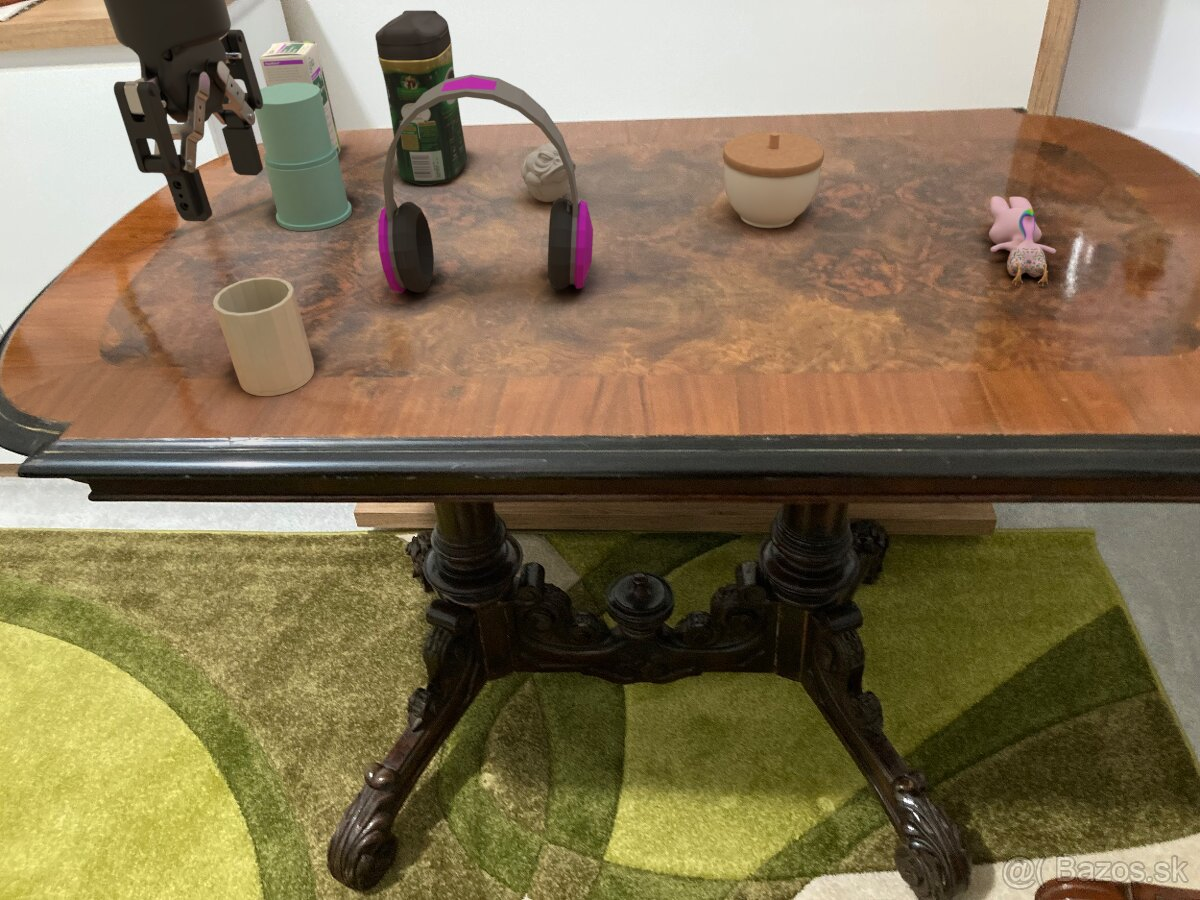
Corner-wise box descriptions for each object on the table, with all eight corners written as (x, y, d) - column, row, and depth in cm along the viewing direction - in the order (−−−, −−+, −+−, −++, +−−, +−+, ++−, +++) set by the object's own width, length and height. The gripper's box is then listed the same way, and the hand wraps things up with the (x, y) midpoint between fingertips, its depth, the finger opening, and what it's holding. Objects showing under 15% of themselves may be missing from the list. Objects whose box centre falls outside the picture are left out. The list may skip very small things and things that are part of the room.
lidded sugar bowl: (702, 208, 106) (706, 126, 100) (783, 190, 109) (790, 110, 103) (750, 245, 98) (757, 159, 92) (835, 225, 101) (846, 141, 95)
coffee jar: (415, 157, 121) (390, 4, 109) (473, 158, 120) (455, 4, 108) (391, 186, 113) (362, 26, 102) (453, 188, 112) (431, 26, 101)
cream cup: (268, 405, 78) (242, 323, 73) (225, 379, 81) (197, 299, 76) (329, 371, 81) (308, 291, 76) (285, 348, 85) (263, 269, 80)
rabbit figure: (1058, 298, 90) (1029, 211, 100) (1078, 248, 86) (1046, 162, 95) (992, 296, 91) (969, 210, 101) (1008, 246, 86) (984, 161, 96)
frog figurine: (548, 217, 105) (544, 158, 101) (511, 199, 109) (506, 141, 105) (588, 202, 108) (586, 143, 104) (552, 185, 112) (548, 128, 108)
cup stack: (307, 238, 103) (275, 111, 94) (262, 218, 107) (228, 96, 98) (367, 211, 108) (342, 89, 99) (321, 194, 112) (294, 75, 103)
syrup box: (333, 171, 118) (307, 52, 109) (287, 173, 118) (257, 54, 109) (342, 155, 122) (318, 39, 113) (298, 156, 122) (270, 41, 113)
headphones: (381, 310, 90) (339, 101, 77) (397, 268, 96) (361, 70, 84) (594, 305, 89) (586, 94, 77) (595, 263, 96) (588, 63, 83)
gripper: (158, -59, 67) (223, 159, 77) (35, -13, 56) (129, 234, 66) (254, -60, 66) (307, 161, 76) (148, -13, 55) (226, 238, 65)
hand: (224, 195), depth 71 cm, fingers open, 8 cm apart
